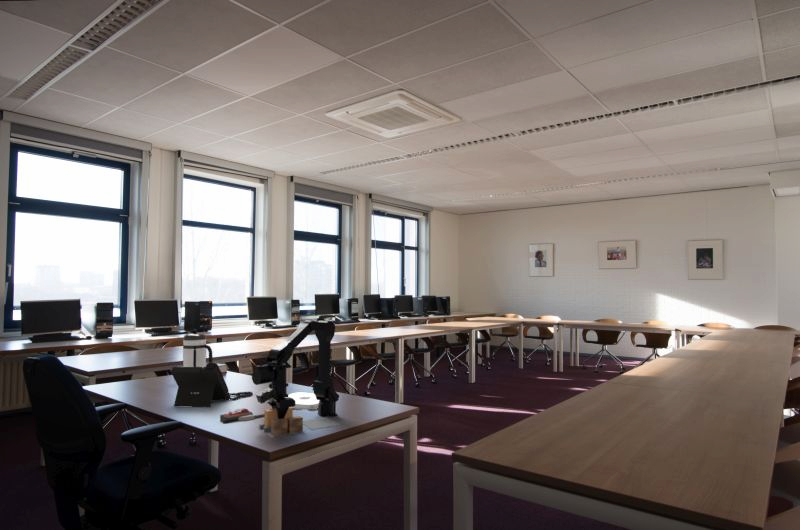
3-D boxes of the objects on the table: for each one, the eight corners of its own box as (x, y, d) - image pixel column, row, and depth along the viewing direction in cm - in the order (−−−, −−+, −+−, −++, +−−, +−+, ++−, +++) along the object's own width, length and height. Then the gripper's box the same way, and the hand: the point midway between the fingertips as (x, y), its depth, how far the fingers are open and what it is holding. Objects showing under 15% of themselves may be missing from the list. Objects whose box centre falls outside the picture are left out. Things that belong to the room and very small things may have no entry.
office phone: (255, 394, 249) (255, 354, 250) (231, 408, 221) (231, 363, 222) (200, 393, 252) (200, 354, 252) (169, 407, 223) (170, 362, 224)
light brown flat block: (289, 424, 192) (289, 406, 192) (292, 426, 189) (292, 407, 190) (264, 428, 186) (264, 409, 186) (267, 430, 184) (267, 411, 184)
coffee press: (178, 384, 274) (179, 330, 275) (181, 379, 289) (182, 328, 290) (212, 382, 279) (212, 329, 281) (213, 377, 294) (213, 327, 296)
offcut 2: (299, 429, 185) (299, 415, 185) (302, 431, 183) (302, 417, 183) (286, 431, 182) (286, 417, 182) (289, 433, 180) (289, 419, 180)
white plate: (313, 411, 215) (313, 405, 215) (270, 407, 222) (270, 401, 222) (336, 400, 236) (336, 394, 236) (296, 397, 243) (296, 391, 243)
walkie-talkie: (225, 426, 192) (272, 417, 205) (225, 415, 192) (272, 406, 205) (216, 422, 198) (262, 413, 212) (216, 411, 198) (262, 403, 212)
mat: (325, 418, 202) (325, 417, 202) (340, 425, 191) (340, 424, 191) (298, 423, 195) (298, 421, 195) (311, 431, 184) (311, 429, 184)
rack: (290, 423, 195) (290, 418, 195) (305, 432, 183) (305, 426, 183) (257, 428, 188) (258, 423, 188) (271, 438, 175) (271, 432, 175)
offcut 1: (284, 431, 182) (284, 418, 182) (287, 433, 179) (287, 420, 179) (271, 434, 179) (271, 420, 179) (274, 436, 176) (274, 422, 177)
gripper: (250, 379, 192) (250, 419, 191) (266, 387, 176) (266, 431, 176) (277, 376, 198) (277, 415, 197) (296, 383, 183) (295, 426, 182)
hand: (278, 421), depth 188 cm, fingers closed on light brown flat block, 3 cm apart
